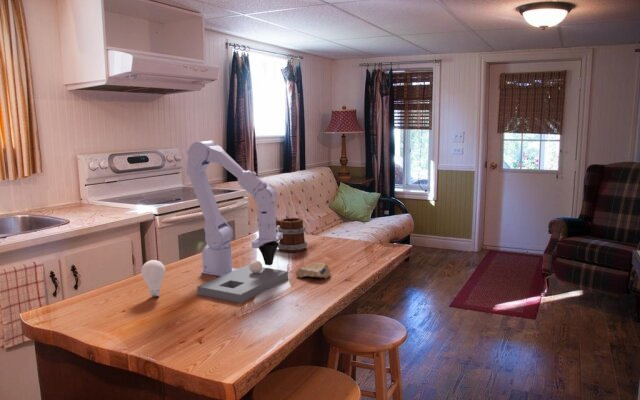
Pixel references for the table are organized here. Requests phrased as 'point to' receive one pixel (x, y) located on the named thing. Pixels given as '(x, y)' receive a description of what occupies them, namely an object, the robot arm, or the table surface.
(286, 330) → the table surface
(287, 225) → the mug
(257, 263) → the ball
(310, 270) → the stone
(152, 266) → the light bulb
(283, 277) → the plate
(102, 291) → the table surface
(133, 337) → the table surface
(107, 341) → the table surface
